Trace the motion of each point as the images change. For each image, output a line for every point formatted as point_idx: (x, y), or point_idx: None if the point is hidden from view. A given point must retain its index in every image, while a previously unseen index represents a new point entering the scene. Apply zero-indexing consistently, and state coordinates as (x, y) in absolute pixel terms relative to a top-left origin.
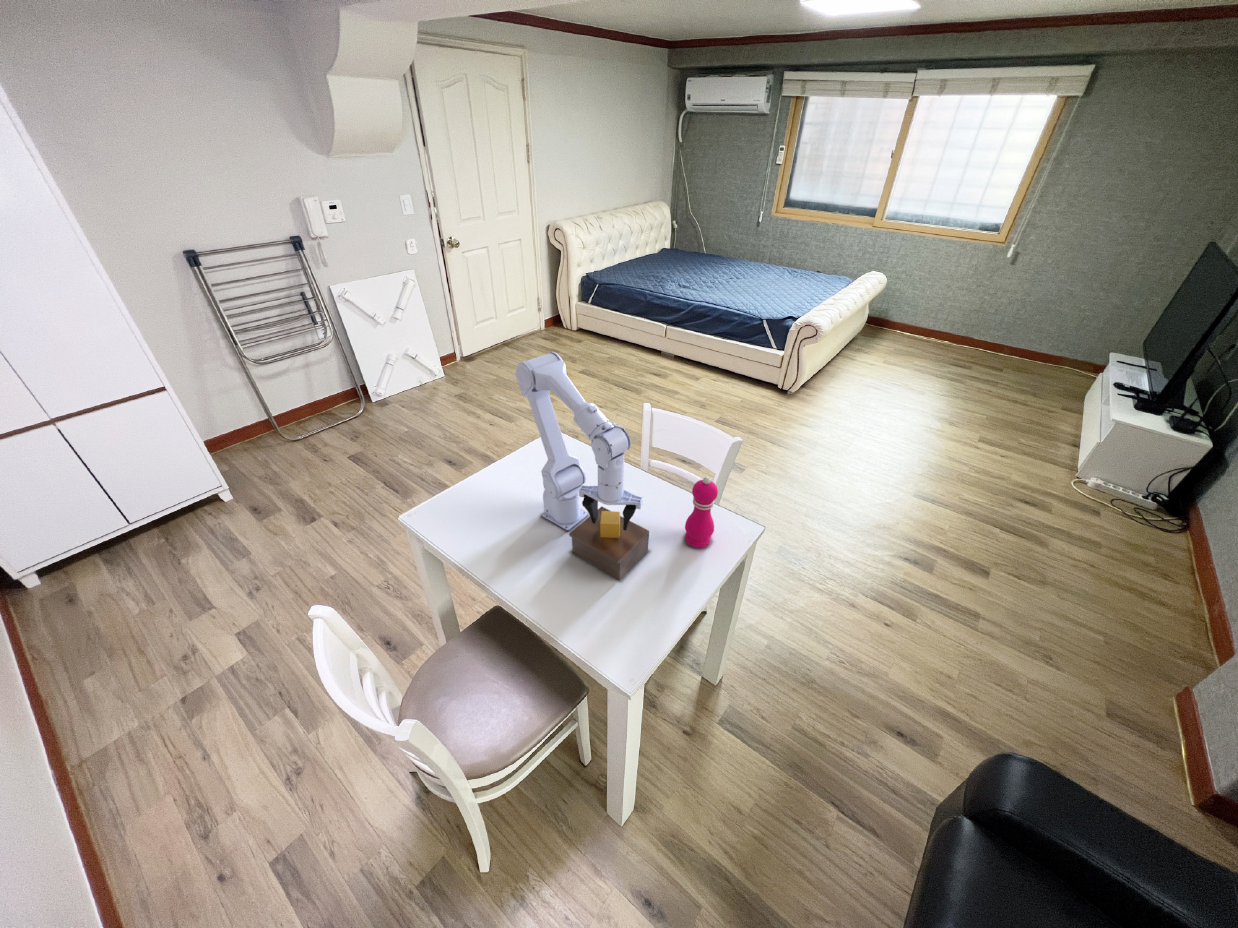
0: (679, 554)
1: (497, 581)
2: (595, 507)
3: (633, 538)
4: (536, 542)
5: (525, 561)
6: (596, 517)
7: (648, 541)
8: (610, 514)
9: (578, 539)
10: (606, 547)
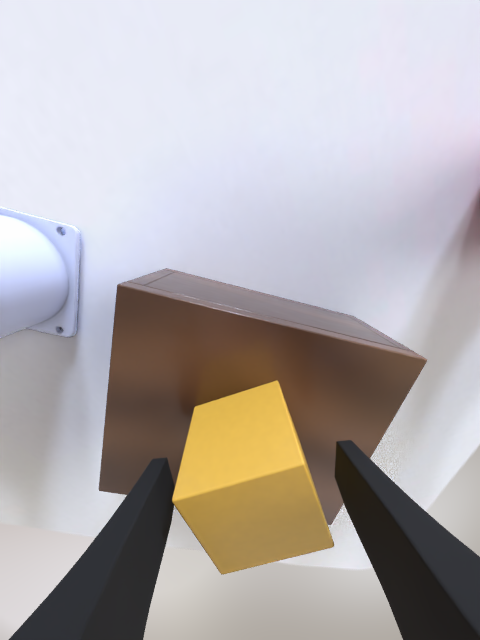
0: (455, 287)
1: (52, 519)
2: (120, 627)
3: (361, 425)
4: (31, 407)
5: (59, 464)
6: (164, 499)
7: (381, 333)
8: (247, 507)
9: None
10: None
